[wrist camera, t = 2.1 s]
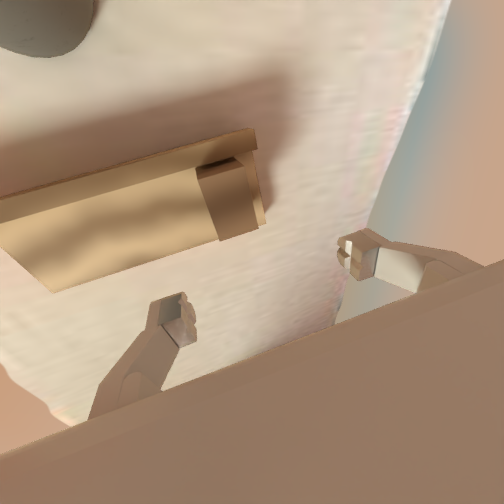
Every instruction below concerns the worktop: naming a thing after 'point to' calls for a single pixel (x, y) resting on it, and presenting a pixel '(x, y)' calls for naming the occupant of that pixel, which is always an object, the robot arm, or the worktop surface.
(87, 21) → the water bottle
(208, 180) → the brown block
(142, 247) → the board
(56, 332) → the worktop surface
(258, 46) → the worktop surface
